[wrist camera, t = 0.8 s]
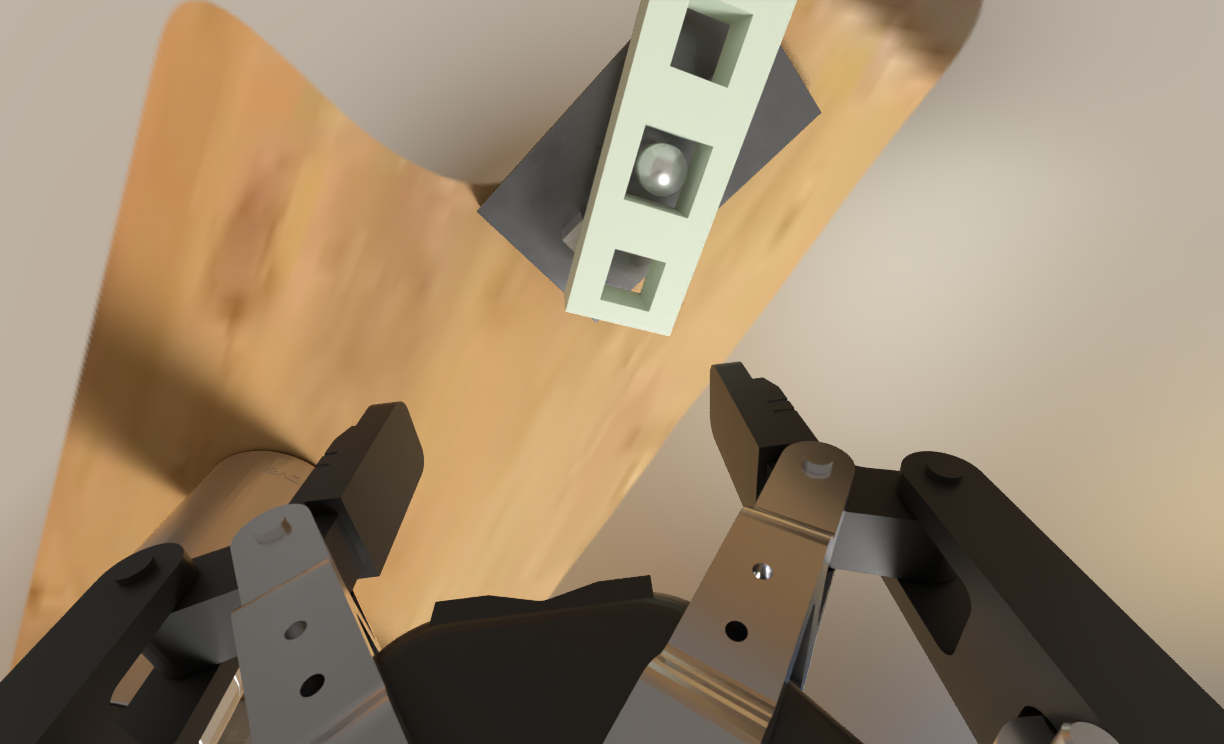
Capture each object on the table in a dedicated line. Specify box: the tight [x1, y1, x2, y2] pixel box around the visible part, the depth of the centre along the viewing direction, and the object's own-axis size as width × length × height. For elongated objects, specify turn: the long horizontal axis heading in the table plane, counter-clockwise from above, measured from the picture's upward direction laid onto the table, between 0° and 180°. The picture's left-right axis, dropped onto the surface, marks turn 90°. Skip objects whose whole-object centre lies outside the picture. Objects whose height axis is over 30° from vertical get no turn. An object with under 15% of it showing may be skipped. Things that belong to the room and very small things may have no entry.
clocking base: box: [477, 8, 821, 322], centre depth 27 cm, size 18×10×6 cm, turn 133°
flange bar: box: [564, 0, 797, 336], centre depth 24 cm, size 16×6×3 cm, turn 163°
